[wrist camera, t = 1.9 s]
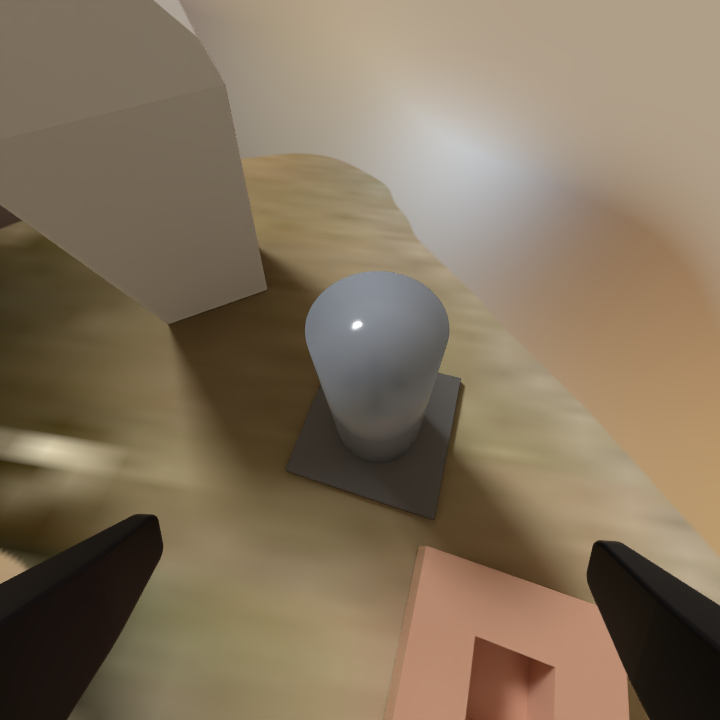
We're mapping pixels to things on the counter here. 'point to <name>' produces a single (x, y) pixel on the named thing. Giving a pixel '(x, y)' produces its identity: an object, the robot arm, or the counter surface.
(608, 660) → the salmon flat square slab
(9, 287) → the counter surface
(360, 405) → the grey domed cylinder
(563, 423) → the counter surface
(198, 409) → the counter surface
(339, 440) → the mat
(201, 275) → the soap bottle
